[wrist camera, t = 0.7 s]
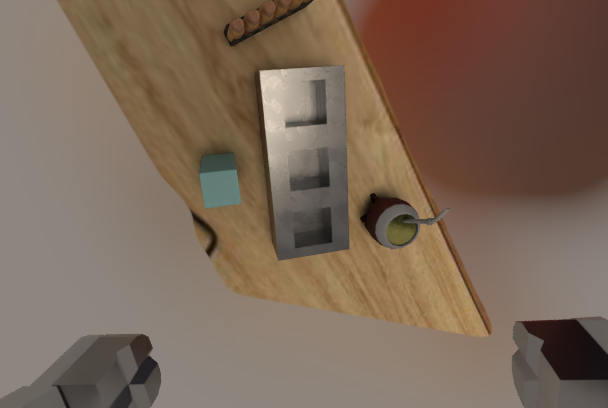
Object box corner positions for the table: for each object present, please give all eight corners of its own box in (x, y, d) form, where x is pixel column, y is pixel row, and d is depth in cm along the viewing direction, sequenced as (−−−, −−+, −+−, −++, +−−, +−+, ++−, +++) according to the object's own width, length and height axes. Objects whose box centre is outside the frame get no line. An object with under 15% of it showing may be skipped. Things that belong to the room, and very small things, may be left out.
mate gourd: (365, 239, 58) (412, 289, 44) (348, 197, 55) (392, 236, 42) (407, 218, 59) (465, 261, 45) (392, 175, 56) (450, 206, 42)
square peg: (202, 155, 49) (199, 173, 40) (233, 152, 50) (236, 169, 40) (207, 184, 50) (205, 208, 41) (236, 181, 51) (241, 203, 42)
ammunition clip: (231, 46, 45) (235, 36, 34) (223, 31, 45) (225, 16, 34) (306, 6, 46) (335, -17, 35) (300, -9, 45) (326, -38, 34)
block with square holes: (254, 71, 47) (259, 70, 41) (329, 66, 49) (344, 65, 43) (272, 242, 55) (278, 260, 49) (336, 232, 57) (349, 249, 51)
